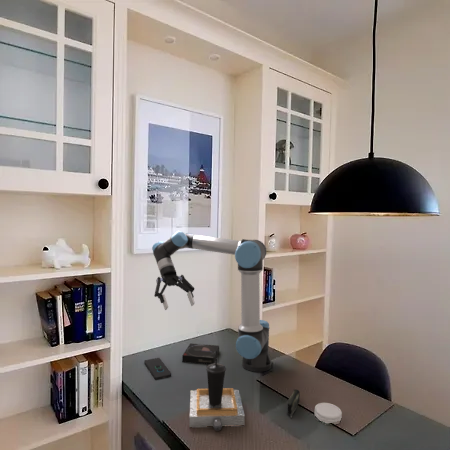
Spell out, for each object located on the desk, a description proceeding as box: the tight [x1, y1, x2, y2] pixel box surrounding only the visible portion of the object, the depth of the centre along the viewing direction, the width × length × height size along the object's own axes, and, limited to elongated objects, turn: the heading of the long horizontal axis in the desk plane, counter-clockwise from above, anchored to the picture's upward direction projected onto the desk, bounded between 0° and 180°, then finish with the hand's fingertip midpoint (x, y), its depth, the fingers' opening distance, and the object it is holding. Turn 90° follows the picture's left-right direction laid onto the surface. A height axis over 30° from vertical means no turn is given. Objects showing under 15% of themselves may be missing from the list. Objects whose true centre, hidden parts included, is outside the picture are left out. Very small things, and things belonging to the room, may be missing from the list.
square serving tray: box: [189, 387, 246, 432], centre depth 132 cm, size 20×21×6 cm
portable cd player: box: [181, 342, 220, 366], centre depth 184 cm, size 16×17×4 cm
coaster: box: [314, 402, 343, 423], centre depth 132 cm, size 10×10×4 cm
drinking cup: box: [205, 351, 227, 406], centre depth 133 cm, size 8×8×20 cm
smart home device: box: [144, 357, 172, 381], centre depth 168 cm, size 8×2×20 cm
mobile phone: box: [286, 388, 301, 419], centre depth 137 cm, size 5×3×15 cm
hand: (180, 306), depth 158 cm, fingers open, 13 cm apart
